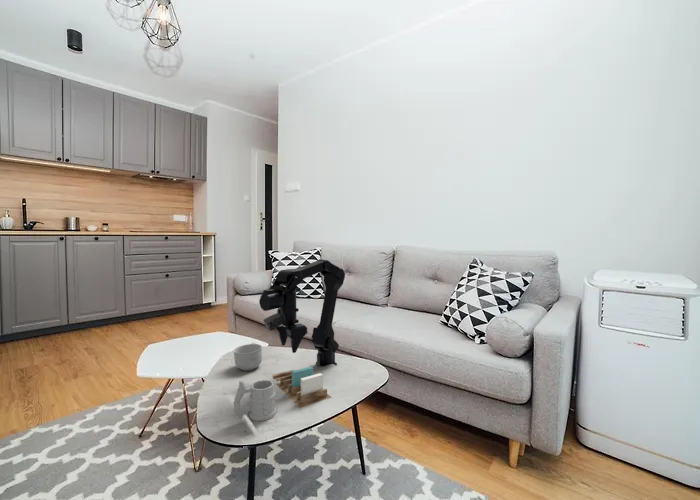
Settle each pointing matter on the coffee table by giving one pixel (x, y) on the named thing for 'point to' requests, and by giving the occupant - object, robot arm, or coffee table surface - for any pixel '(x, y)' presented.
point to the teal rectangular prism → (300, 375)
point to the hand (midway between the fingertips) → (288, 348)
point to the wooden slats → (282, 374)
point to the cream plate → (311, 384)
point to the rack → (296, 393)
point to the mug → (256, 400)
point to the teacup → (248, 356)
